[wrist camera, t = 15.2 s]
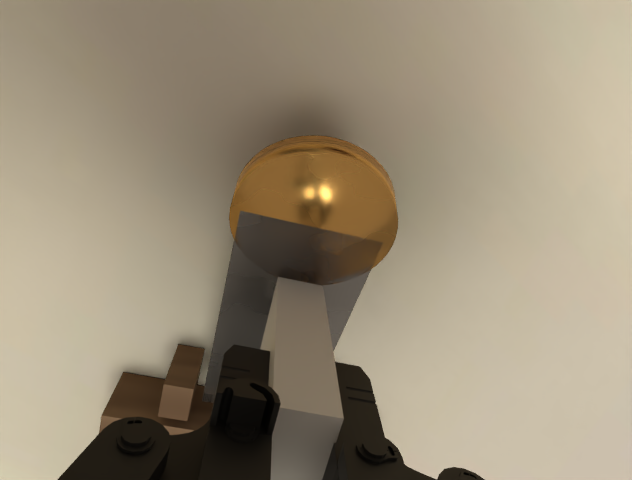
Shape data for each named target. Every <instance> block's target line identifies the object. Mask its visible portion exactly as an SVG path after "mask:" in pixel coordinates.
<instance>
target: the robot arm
mask: <svg viewBox="0 0 632 480" xmlns="http://www.w3.org/2000/svg"><path fill="white" fill-rule="evenodd" d="M375 402H376V401H375V397H374V394H373V389H372V386H371V382H370V379H369V377H368V376H367V375H366V374H365V372H364V371H363V370H362V369H361V367H359V366H354V365H348V364H343V363H338V362H335V360H334V353H333V347H332V341H331V334H330V328H329V322H328V315H327V309H326V302H325V296H324V290H323V286H321V285H316V284H311V283H306V282H301V281H297V280H292V279H287V278H282V277H278V278H277V282H276V286H275V290H274V295H273V299H272V303H271V307H270V311H269V315H268V319H267V323H266V327H265V331H264V335H263V339H262V343H261V347H260V349H256V348H251V347H246V346H240V345H235V344H234V345H233V346H232V347H231V348H230V349H228V350H227V351H226V352H225V353H224V357H223V361H222V366H221V371H220V375H219V380H218V384H217V389H216V393H215V398H214V402H213V407H212V412H211V416H210V419H209V420H208V421H207V423H206V424H205V425H204V426H202V427H201V428H199V429H197V430H195V431H192V432H189V433H184V434H177V435H169V432H168V431H167V429H166V428H165V427H164V426H163V425H162V424H160V423H158V422H157V421H155V420H153V419H149V418H144V417H126V418H123V419H120V420H117V421H114V422H112V423H111V424H109V425H108V426H107V427H105V428H104V429H103V430H102V431H101V432H100V433H99V435H98V436H97V437H96V438H95V439H94V440H93V441H92V442H91V443H90V444H89V446H88V447H87V448H86V449H85V450H84V451H83V452H82V453H81V454H80V455H79V457H78V458H77V459H76V460H75V461H74V462H73V463H72V464H71V465H70V467H69V468H68V469H67V470H66V471H65V472H64V473H63V474H62V475H61V476H60V478H59V479H58V480H436V479H434V478H432V477H429V476H427V475H424V474H422V473H420V472H417V471H415V470H413V469H411V468H409V467H407V466H406V465H405V464H404V462H403V458H402V456H401V454H400V452H399V450H398V448H397V447H396V446H395V445H394V444H393V443H392V442H391V441H390V440H388V439H386V438H385V436H384V432H383V428H382V424H381V421H380V417H379V413H378V409H377V405H376V404H375ZM437 480H484V479H483V478H481V477H480V476H479V475H477V474H476V473H473V472H471V471H468V470H466V469H463V468H456V467H452V468H447V469H444V470H443V471H442V472H441V473H440V474H439V476H438V479H437Z"/></svg>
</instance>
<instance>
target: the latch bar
mask: <svg viewBox="0 0 632 480" xmlns="http://www.w3.org/2000/svg"><path fill="white" fill-rule="evenodd" d="M229 220H230V228H231V232H232V235H233V238H234V244H233V249H232V254H231V259H230V264H229V269H228V274H227V279H226V284H225V289H224V294H223V299H222V304H221V309H220V314H219V319H218V324H217V329H216V333H215V338H214V343H213V348H212V353H211V358H210V363H209V368H208V373H207V378H206V383H205V388H204V393H203V398H202V401H204V402H210V403H213V402H214V398H215V393H216V389H217V384H218V380H219V375H220V371H221V366H222V361H223V357H224V353H225V352H226V351H227V350H228V349H230V348H231V347H232V346H233V345H234V344H235V345H240V346H246V347H251V348H256V349H260V347H261V343H262V339H263V335H264V331H265V327H266V323H267V319H268V315H269V311H270V307H271V303H272V299H273V295H274V290H275V286H276V282H277V278H278V277H282V278H287V279H292V280H297V281H301V282H306V283H311V284H316V285H321V286H323V290H324V296H325V302H326V309H327V315H328V322H329V328H330V334H331V341H332V347H333V351H334V349H335V347H336V345H337V342H338V340H339V338H340V336H341V334H342V332H343V329H344V327H345V325H346V323H347V321H348V319H349V316H350V314H351V312H352V310H353V308H354V305H355V303H356V301H357V299H358V297H359V295H360V292H361V290H362V288H363V286H364V284H365V282H366V279H367V277H368V275H369V273H370V271H371V269H372V268H373V267H375V266H376V265H377V264H378V263H379V262H380V261H381V260H382V259H383V258H384V257H385V256H386V255H387V253H388V252H389V250H390V249H391V247H392V245H393V243H394V240H395V238H396V234H397V229H398V216H397V208H396V200H395V193H394V188H393V185H392V182H391V180H390V178H389V176H388V174H387V172H386V171H385V169H384V168H383V167H382V165H381V164H380V163H379V162H378V161H377V160H376V159H375V158H374V157H373V156H371V155H370V154H369V153H368V152H366V151H365V150H363V149H361V148H360V147H358V146H356V145H354V144H351V143H349V142H347V141H344V140H340V139H337V138H332V137H327V136H315V135H311V136H299V137H293V138H288V139H285V140H282V141H279V142H276V143H274V144H272V145H270V146H268V147H266V148H265V149H263V150H261V151H260V152H259V153H258V154H256V155H255V156H254V157H253V158H252V159H251V160H250V161H249V162H248V163H247V164H246V166H245V167H244V169H243V170H242V172H241V174H240V176H239V178H238V181H237V185H236V188H235V192H234V196H233V199H232V203H231V207H230V215H229Z"/></svg>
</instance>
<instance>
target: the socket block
mask: <svg viewBox="0 0 632 480" xmlns="http://www.w3.org/2000/svg"><path fill="white" fill-rule="evenodd" d="M204 350H205V349H202V348H196V347H191V346H186V345H180V344H178V346H177V349H176V352H175V355H174V357H173V360H172V363H171V366H170V368H169V371H168V374H167V377H166V379H159V378H153V377H148V376H142V375H136V374H130V373H125V372H123V374H122V376H121V378H120V380H119V382H118V384H117V386H116V388H115V390H114V392H113V394H112V396H111V398H110V400H109V402H108V404H107V406H106V408H105V410H104V412H103V414H102V417H101V424H100V431H99V433H100V432H101V431H102V430H103V429H104V428H105V427H107V426H108V425H109V424H111V423H112V422H114V421H117V420H120V419H123V418H126V417H144V418H149V419H153V420H155V421H157V422H158V423H160V424H162V425H163V426H164V427H165V428H166V429H167V431H168V432H169V435H177V434H184V433H189V432H192V431H195V430H197V429H199V428H201V427H202V426H204V425H205V424H206V423H207V421H208V420H209V419H210V416H211V412H212V407H213V403H210V402H204V401H202V398H203V393H204V388H205V386H199V385H197V383H198V379H199V374H200V369H201V364H202V360H203V355H204Z"/></svg>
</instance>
